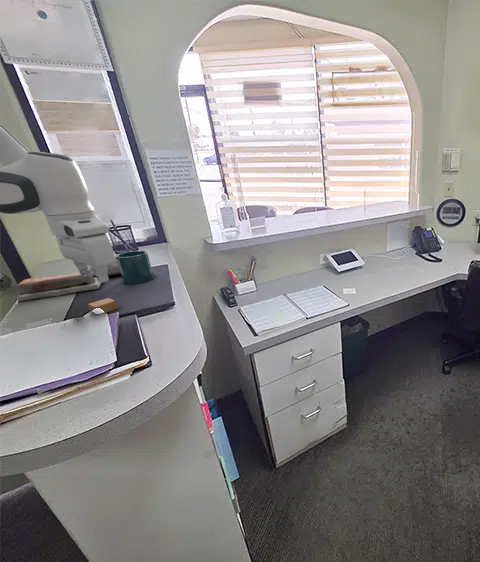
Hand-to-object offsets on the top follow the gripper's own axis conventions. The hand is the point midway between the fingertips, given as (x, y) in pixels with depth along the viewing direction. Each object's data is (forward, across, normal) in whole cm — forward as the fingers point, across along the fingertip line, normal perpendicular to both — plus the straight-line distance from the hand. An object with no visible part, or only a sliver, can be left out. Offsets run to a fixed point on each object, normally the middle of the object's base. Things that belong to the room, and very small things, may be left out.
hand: (95, 278), depth 79 cm
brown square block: (+9, 0, 0) cm, 9 cm away
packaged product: (+9, -28, +1) cm, 30 cm away
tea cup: (+9, -18, +17) cm, 26 cm away
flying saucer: (+9, -34, +17) cm, 39 cm away
